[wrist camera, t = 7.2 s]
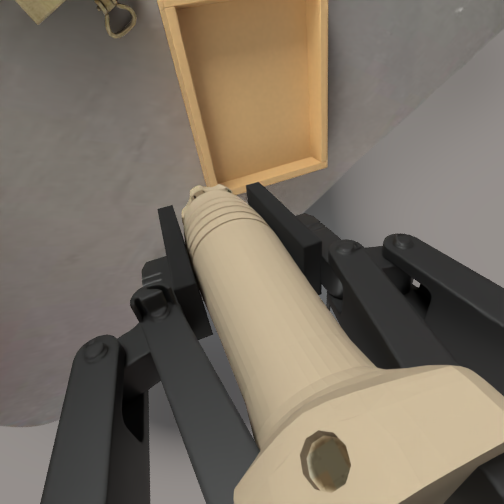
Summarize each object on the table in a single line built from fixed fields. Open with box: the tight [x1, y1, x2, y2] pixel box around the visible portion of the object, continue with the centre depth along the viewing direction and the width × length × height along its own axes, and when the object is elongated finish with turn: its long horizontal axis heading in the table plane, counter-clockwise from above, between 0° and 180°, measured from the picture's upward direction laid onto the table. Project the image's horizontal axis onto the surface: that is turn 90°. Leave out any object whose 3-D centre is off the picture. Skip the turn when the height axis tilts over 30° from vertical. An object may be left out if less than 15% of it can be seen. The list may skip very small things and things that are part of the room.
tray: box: [157, 0, 328, 195], centre depth 28 cm, size 17×14×3 cm
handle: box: [182, 184, 504, 504], centre depth 11 cm, size 5×6×15 cm
